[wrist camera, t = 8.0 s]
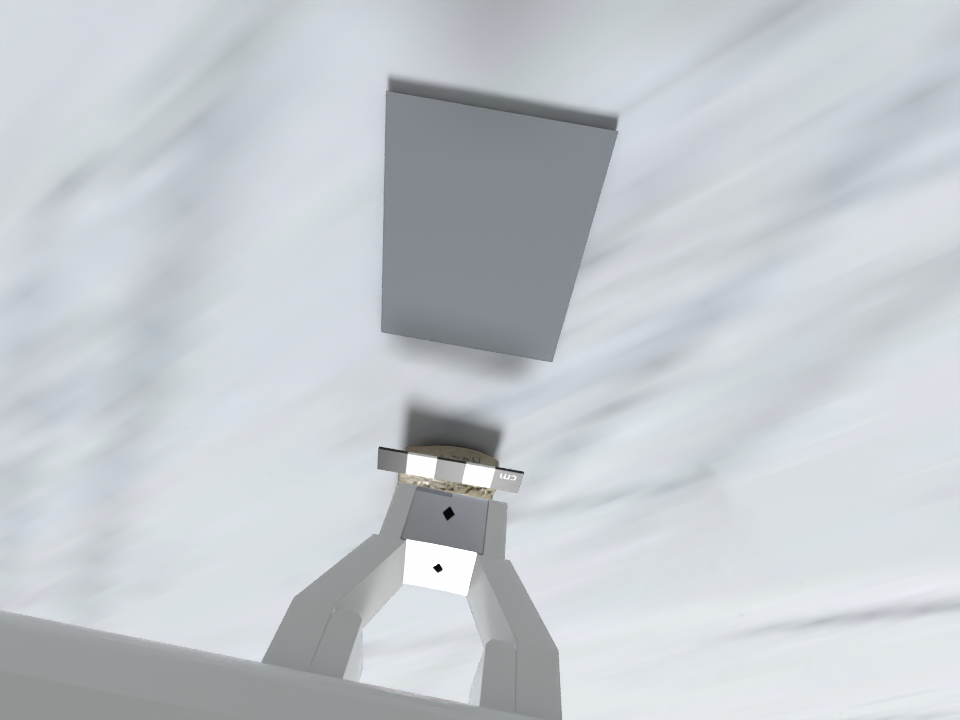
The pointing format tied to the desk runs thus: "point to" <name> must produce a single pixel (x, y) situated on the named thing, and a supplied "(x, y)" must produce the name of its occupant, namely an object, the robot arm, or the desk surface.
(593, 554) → the desk surface
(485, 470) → the cuneiform tablet
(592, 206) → the felt pad
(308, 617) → the robot arm
